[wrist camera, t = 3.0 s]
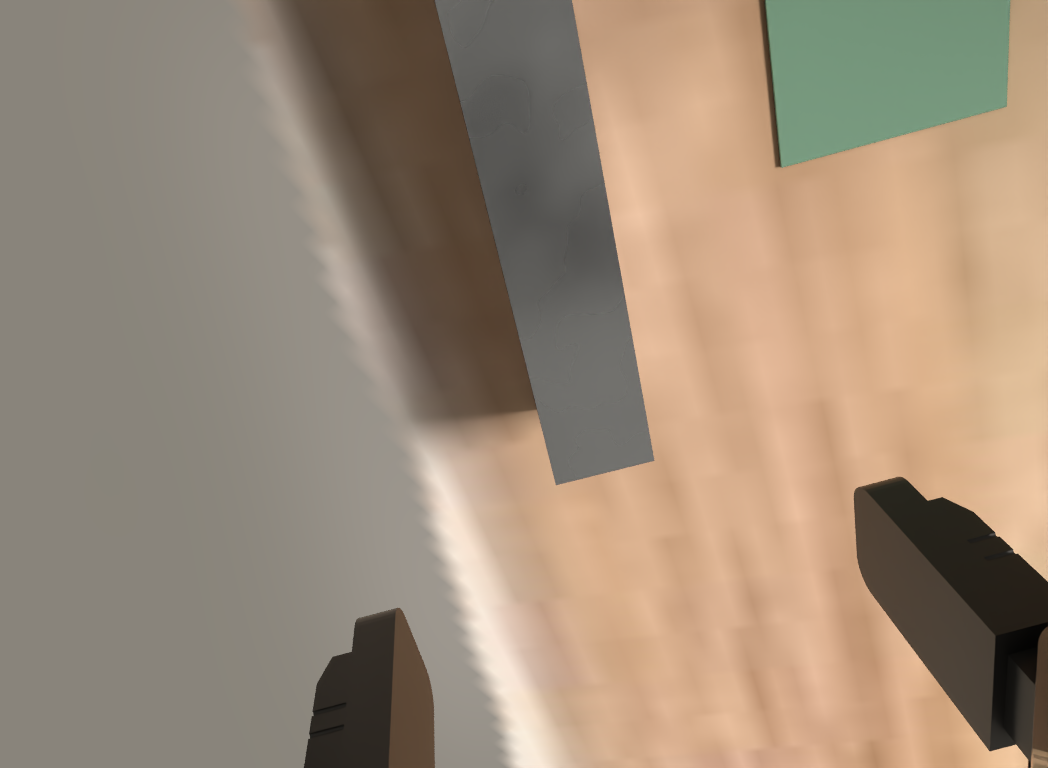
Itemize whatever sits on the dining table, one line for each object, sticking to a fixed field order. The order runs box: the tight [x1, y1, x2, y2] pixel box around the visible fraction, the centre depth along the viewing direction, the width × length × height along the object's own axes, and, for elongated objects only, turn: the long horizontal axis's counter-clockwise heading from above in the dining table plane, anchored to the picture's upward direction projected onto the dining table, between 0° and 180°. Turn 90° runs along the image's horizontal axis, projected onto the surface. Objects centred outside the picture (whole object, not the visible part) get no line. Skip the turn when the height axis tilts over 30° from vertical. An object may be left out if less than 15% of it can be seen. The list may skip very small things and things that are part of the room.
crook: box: [435, 0, 654, 485], centre depth 18 cm, size 16×8×4 cm, turn 13°
